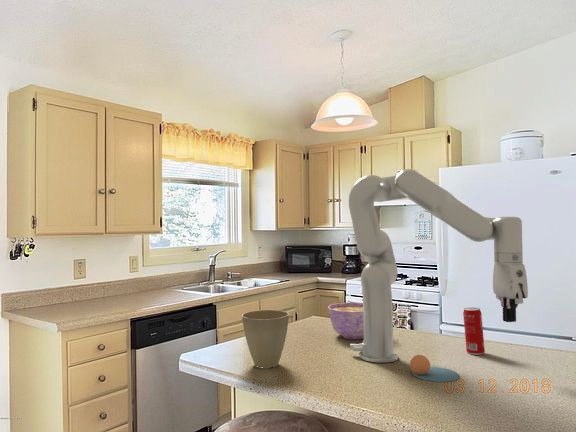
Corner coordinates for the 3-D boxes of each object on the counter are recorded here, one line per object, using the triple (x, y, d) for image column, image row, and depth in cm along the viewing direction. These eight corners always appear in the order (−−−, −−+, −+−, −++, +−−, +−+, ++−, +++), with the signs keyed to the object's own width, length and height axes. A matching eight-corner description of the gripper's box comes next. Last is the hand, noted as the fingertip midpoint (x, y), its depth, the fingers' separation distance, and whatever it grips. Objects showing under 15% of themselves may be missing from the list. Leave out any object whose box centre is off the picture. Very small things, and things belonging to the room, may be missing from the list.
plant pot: (262, 355, 153) (261, 308, 153) (298, 362, 144) (298, 312, 145) (232, 367, 141) (231, 315, 141) (270, 375, 132) (269, 321, 132)
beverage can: (486, 355, 150) (485, 310, 150) (465, 355, 151) (464, 309, 151) (482, 351, 156) (481, 307, 156) (462, 350, 157) (461, 306, 157)
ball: (422, 351, 130) (437, 363, 130) (412, 350, 135) (426, 362, 136) (412, 367, 128) (427, 379, 128) (403, 366, 133) (417, 378, 134)
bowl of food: (323, 331, 186) (323, 303, 186) (371, 329, 188) (370, 301, 188) (333, 344, 166) (333, 312, 166) (386, 342, 168) (386, 310, 169)
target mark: (414, 380, 127) (414, 380, 127) (410, 366, 140) (410, 365, 140) (463, 383, 124) (463, 382, 124) (454, 368, 137) (454, 367, 137)
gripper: (537, 260, 126) (539, 326, 126) (503, 256, 141) (504, 315, 141) (513, 260, 125) (514, 327, 125) (481, 257, 140) (482, 316, 139)
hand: (509, 321), depth 133 cm, fingers closed
